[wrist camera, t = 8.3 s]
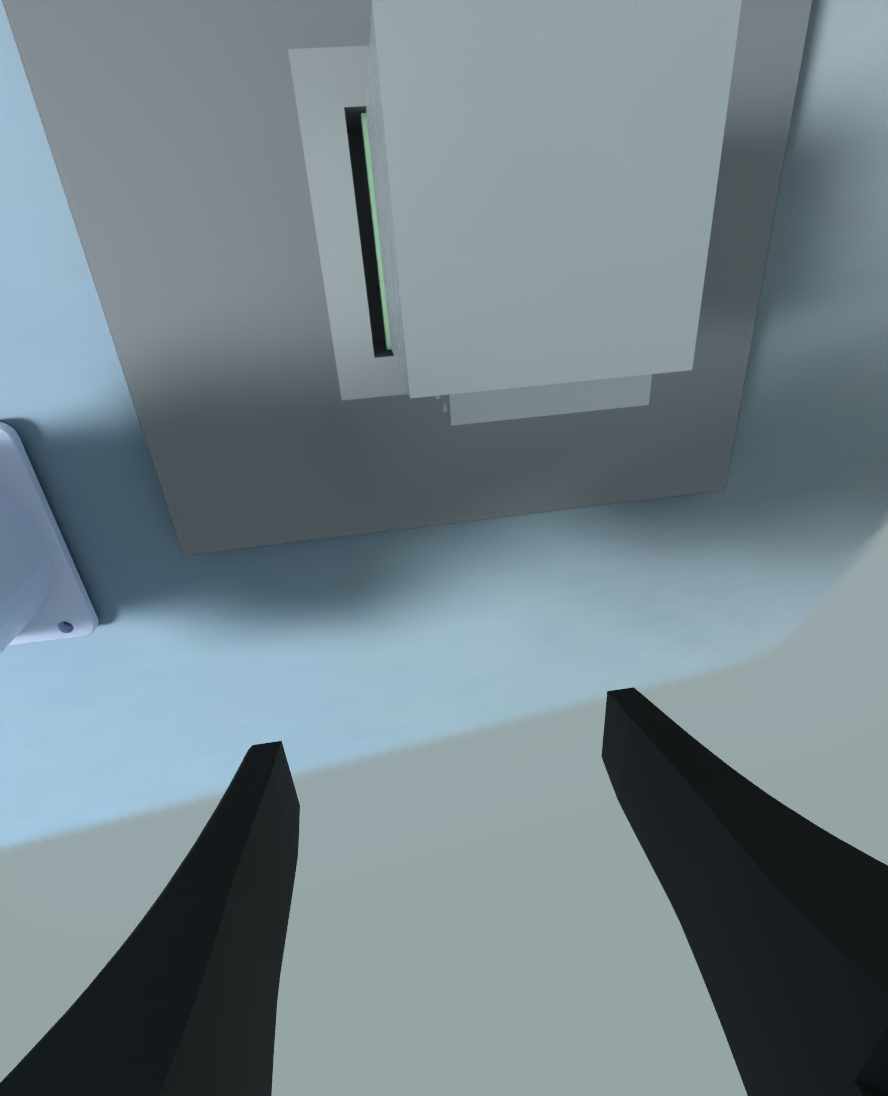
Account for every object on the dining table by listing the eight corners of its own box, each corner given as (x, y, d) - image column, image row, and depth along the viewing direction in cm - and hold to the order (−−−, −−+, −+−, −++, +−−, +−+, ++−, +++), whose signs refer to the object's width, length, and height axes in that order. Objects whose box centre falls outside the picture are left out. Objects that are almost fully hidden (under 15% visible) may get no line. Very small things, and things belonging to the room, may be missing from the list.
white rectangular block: (387, 360, 15) (407, 432, 8) (360, 125, 12) (364, -10, 6) (556, 344, 15) (692, 401, 9) (561, 114, 13) (751, -23, 7)
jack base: (190, 543, 20) (152, 607, 17) (-45, -203, 12) (-232, -419, 8) (710, 481, 22) (783, 526, 18) (823, -207, 14) (1000, -385, 10)
